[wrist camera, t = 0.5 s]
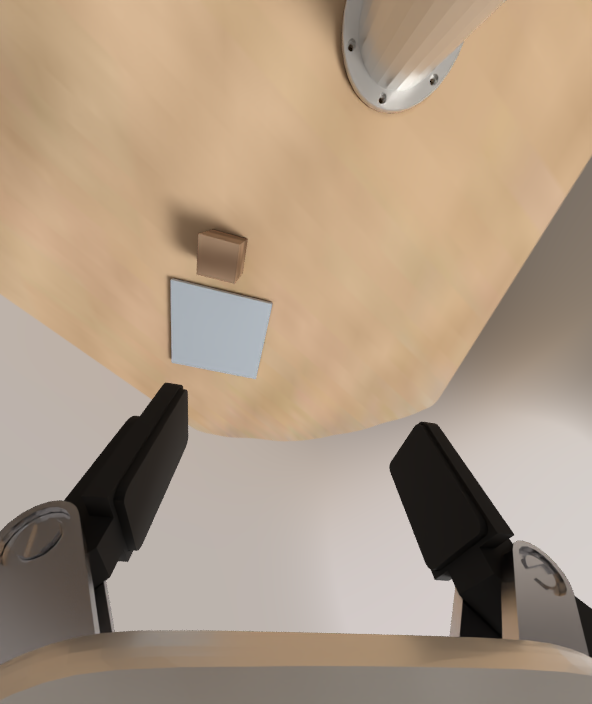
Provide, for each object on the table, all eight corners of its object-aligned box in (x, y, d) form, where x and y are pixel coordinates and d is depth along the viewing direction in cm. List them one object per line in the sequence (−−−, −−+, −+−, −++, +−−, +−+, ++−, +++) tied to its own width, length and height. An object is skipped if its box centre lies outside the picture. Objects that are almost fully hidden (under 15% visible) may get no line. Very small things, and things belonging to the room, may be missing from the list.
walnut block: (212, 229, 34) (198, 233, 29) (247, 239, 35) (239, 244, 29) (210, 264, 36) (196, 274, 31) (242, 273, 37) (234, 283, 32)
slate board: (172, 278, 37) (170, 279, 37) (272, 302, 40) (272, 304, 39) (173, 360, 45) (171, 362, 45) (256, 376, 48) (255, 379, 47)
